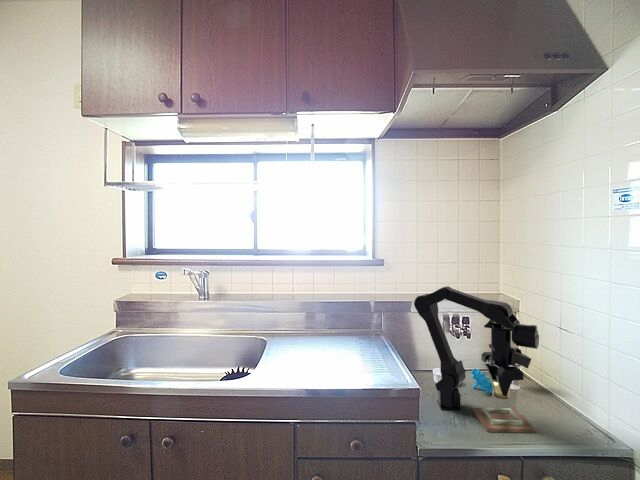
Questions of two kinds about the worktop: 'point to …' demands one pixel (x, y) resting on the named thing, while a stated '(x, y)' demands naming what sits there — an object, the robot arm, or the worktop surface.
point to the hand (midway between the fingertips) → (501, 392)
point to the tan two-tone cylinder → (499, 391)
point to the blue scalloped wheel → (482, 381)
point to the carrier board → (502, 420)
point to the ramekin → (437, 375)
